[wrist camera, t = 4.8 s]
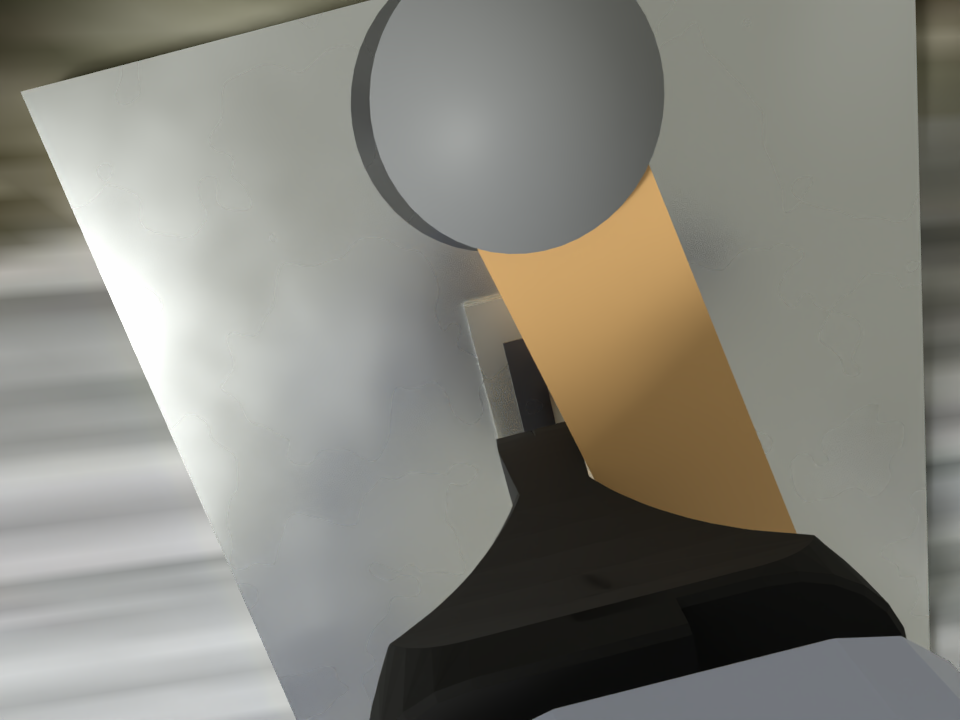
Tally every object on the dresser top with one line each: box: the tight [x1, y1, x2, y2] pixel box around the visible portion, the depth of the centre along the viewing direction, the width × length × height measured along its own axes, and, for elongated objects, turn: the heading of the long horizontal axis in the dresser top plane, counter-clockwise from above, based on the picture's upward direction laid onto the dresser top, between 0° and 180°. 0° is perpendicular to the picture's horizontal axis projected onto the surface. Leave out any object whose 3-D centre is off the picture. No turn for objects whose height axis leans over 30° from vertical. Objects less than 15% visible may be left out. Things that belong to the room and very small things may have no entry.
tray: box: [21, 0, 930, 720], centre depth 13 cm, size 18×14×1 cm
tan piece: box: [369, 0, 797, 534], centre depth 11 cm, size 16×3×3 cm, turn 27°
